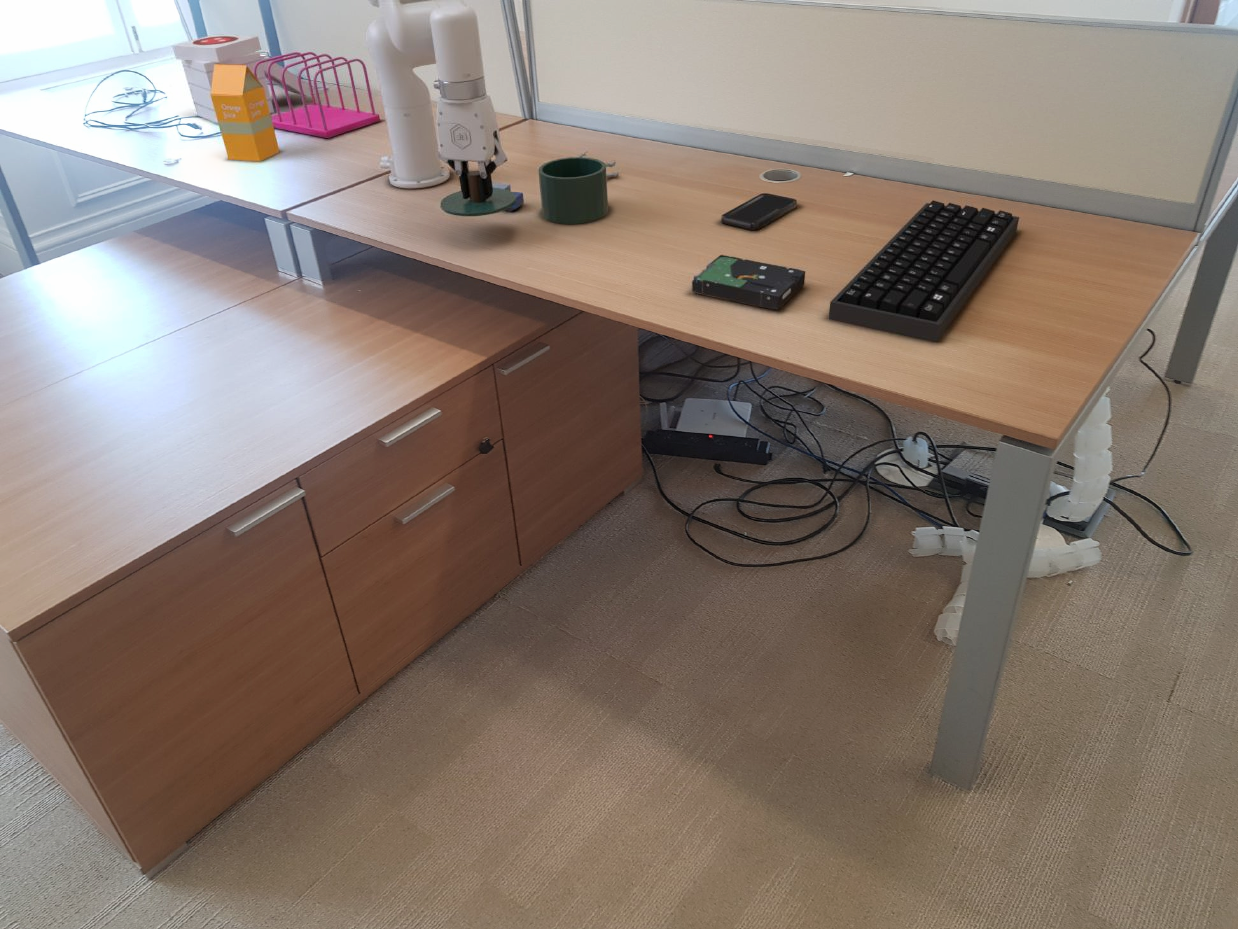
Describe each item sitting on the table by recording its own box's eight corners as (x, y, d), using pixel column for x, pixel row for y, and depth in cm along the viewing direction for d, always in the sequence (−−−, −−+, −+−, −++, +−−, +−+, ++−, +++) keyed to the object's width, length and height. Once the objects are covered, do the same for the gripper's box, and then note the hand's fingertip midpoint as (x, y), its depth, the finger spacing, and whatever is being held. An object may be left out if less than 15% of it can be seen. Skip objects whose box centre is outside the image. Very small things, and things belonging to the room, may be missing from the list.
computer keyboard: (936, 342, 130) (941, 317, 128) (828, 318, 137) (830, 294, 135) (1016, 232, 161) (1020, 210, 158) (924, 217, 168) (927, 196, 166)
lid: (427, 216, 164) (421, 182, 161) (464, 191, 174) (459, 158, 171) (495, 222, 160) (491, 188, 156) (528, 196, 170) (525, 163, 167)
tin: (532, 220, 175) (527, 175, 170) (558, 198, 185) (555, 155, 180) (593, 226, 171) (590, 180, 166) (617, 203, 181) (615, 159, 176)
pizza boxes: (321, 103, 255) (306, 31, 245) (216, 128, 239) (194, 52, 228) (288, 92, 267) (272, 23, 256) (185, 115, 251) (164, 43, 240)
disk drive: (805, 286, 147) (719, 269, 153) (806, 270, 145) (720, 252, 152) (778, 313, 140) (690, 293, 146) (780, 296, 138) (690, 276, 145)
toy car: (480, 209, 182) (477, 188, 179) (489, 202, 185) (486, 181, 182) (515, 212, 179) (513, 191, 177) (524, 205, 182) (522, 184, 180)
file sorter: (327, 139, 226) (312, 70, 217) (262, 126, 238) (245, 60, 229) (381, 121, 237) (368, 55, 228) (316, 109, 249) (302, 46, 240)
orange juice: (259, 161, 213) (235, 68, 202) (227, 159, 216) (201, 67, 204) (280, 151, 219) (257, 60, 208) (249, 149, 222) (224, 59, 210)
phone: (719, 216, 169) (763, 192, 179) (719, 222, 170) (763, 197, 179) (756, 225, 165) (799, 199, 174) (756, 231, 166) (799, 205, 175)
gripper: (409, 92, 155) (427, 201, 166) (496, 96, 150) (509, 208, 161) (431, 81, 161) (448, 187, 172) (516, 85, 156) (528, 193, 166)
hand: (477, 196), depth 166 cm, fingers closed on lid, 2 cm apart
